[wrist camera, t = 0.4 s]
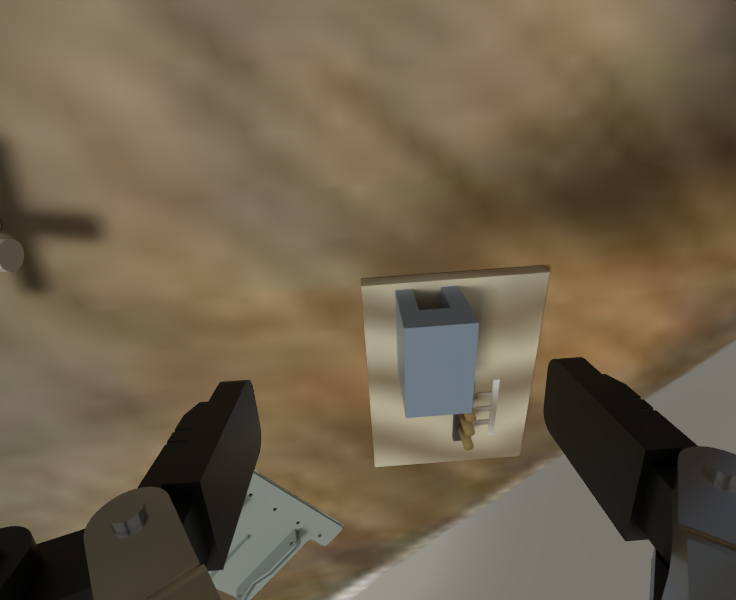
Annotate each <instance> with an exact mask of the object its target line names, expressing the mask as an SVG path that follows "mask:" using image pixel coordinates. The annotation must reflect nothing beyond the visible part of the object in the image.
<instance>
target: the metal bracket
mask: <svg viewBox="0 0 736 600" xmlns="http://www.w3.org/2000/svg"><path fill="white" fill-rule="evenodd" d="M249 494H252V495H251V496H250V495H249ZM274 508H277V509H276V510H274ZM297 521H299V523H296V522H297ZM343 526H344V525H343V524H341V523H340V522H338V521H337V520H335V519H333V518H332V517H330V516H329V515H327V514H325V513H324V512H322V511H320V510H318V509H316V508H314V507H313V506H311V505H309V504H308V503H306V502H305V501H303V500H301V499H300V498H298V497H296V496H295V495H293V494H292V493H290V492H288V491H287V490H285V489H284V488H282V487H280V486H279V485H277V484H275V483H274V482H272V481H271V480H269V479H267V478H266V477H264V476H262V475H261V474H259V473H258V471H257V470H255V469H254V472H253V475H252V479H251V482H250V485H249V488H248V491H247V495H246V498H245V501H244V504H243V508H242V511H241V514H240V517H239V520H238V524H237V527H236V530H235V533H234V537H233V540H232V543H231V546H230V549H229V553H228V556H227V559H226V562H225V566H224V569H223V570H217V571H208V572H209V575H210V577H211V579H212V581H213V583H214V585H215V588H216V589H218V590H221V591H223V592H225V593H227V594H229V595H232V596H234V597H236V600H251V599H252V597H253V596H254V595H255V594H256V593H257V592H258V591H259V590H260V589H261V588H262V587H263V586H264V585H265V584H266V583H267V582H268V581H269V580H270V579H271V578H272V577H273V576H274V575H275V574H276V573H277V572H278V571H279V570H280V569H281V568H282V567H283V566H284V565H285V564H286V563H287V562H288V561H289V560H290V559H291V558H292V556H293V555H294V554H295V553H296V552H297V551H298V550H299V549H300V548H301V547H302V546H303V545H304V544H305V543H306V542H307V541H308V540H314V541H315V542H317V543H319V544H321V545H323V546H326V545H328V544H329V543H330V542H331V541H332V539H333V538H334V537H335V536H336V535H337V534H338V533H339V532H340V531H341V530H342V528H343ZM319 534H321V535H320V536H318V535H319Z"/></svg>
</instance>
